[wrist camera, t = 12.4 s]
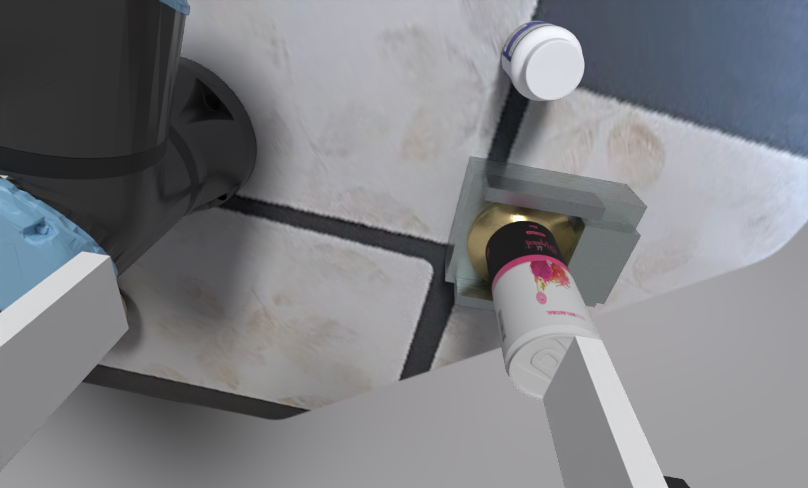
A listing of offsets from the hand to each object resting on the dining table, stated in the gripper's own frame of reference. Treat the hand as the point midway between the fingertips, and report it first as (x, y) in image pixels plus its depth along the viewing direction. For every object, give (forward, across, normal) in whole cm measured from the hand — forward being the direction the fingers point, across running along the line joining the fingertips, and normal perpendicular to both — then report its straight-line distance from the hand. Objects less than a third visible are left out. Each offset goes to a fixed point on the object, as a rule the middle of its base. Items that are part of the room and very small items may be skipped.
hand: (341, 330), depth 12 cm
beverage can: (+26, +13, -11) cm, 31 cm away
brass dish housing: (+32, +15, -11) cm, 37 cm away
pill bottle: (+32, +10, +5) cm, 34 cm away
